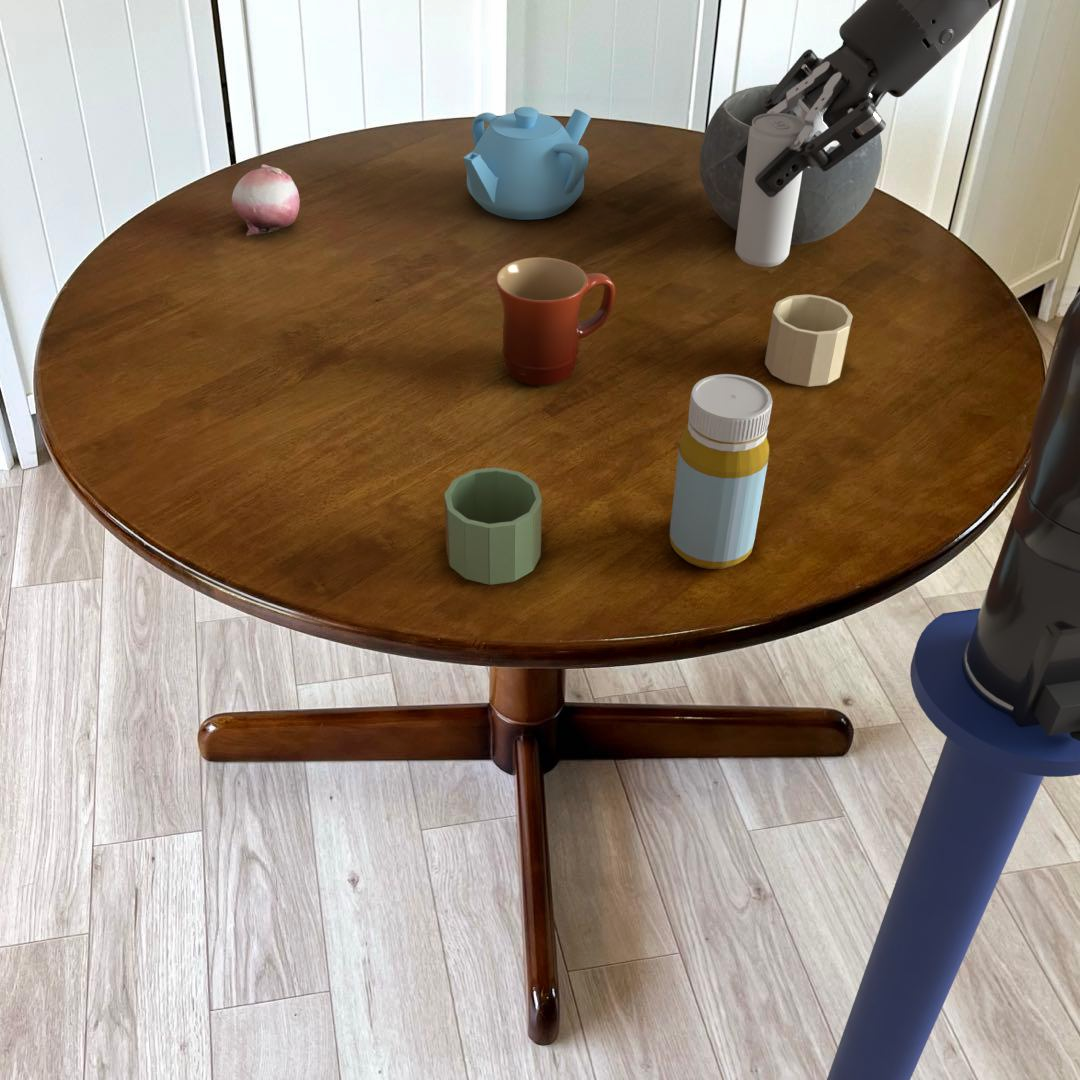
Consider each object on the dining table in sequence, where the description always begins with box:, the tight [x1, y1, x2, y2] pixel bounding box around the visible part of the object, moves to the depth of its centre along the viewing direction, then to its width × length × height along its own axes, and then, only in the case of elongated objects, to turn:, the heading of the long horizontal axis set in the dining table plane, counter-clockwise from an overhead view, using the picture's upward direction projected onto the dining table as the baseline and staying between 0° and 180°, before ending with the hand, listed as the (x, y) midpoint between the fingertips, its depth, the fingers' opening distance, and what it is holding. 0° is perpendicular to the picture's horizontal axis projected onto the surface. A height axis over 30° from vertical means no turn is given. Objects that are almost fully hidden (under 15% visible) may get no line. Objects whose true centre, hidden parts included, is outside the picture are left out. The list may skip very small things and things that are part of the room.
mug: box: [495, 256, 616, 387], centre depth 121 cm, size 12×9×10 cm
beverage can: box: [734, 113, 805, 268], centre depth 105 cm, size 5×5×12 cm
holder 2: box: [764, 293, 854, 388], centre depth 123 cm, size 8×8×6 cm
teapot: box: [462, 106, 592, 221], centre depth 150 cm, size 15×17×11 cm
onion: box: [231, 163, 301, 237], centre depth 144 cm, size 8×8×7 cm
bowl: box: [699, 83, 883, 246], centre depth 143 cm, size 20×20×15 cm
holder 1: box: [443, 466, 543, 586], centre depth 100 cm, size 8×8×6 cm
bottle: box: [669, 373, 773, 570], centre depth 99 cm, size 7×7×15 cm
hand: (752, 175), depth 104 cm, fingers closed on beverage can, 5 cm apart
